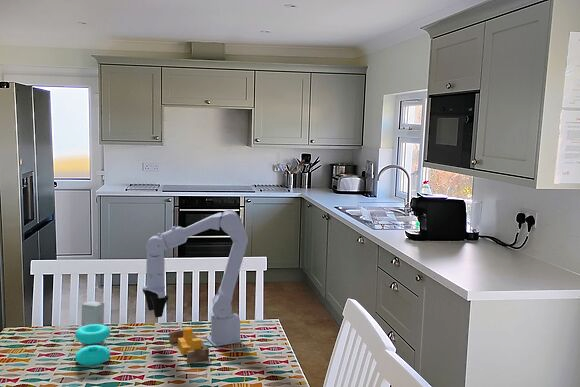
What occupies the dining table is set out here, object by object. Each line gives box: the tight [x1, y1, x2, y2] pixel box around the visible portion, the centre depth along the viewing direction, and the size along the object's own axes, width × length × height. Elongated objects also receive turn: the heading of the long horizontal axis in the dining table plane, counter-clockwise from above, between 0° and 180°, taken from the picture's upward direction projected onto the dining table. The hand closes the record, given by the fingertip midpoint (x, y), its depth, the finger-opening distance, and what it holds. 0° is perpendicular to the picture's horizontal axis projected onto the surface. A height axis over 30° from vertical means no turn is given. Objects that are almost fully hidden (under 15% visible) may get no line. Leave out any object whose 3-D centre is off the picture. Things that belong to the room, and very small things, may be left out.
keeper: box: [168, 329, 210, 364], centre depth 176 cm, size 7×19×4 cm, turn 29°
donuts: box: [74, 324, 111, 367], centre depth 166 cm, size 10×10×10 cm
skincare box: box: [80, 300, 105, 327], centre depth 183 cm, size 6×4×12 cm
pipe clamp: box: [177, 326, 203, 356], centre depth 174 cm, size 12×4×6 cm, turn 26°
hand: (155, 313), depth 181 cm, fingers open, 7 cm apart
